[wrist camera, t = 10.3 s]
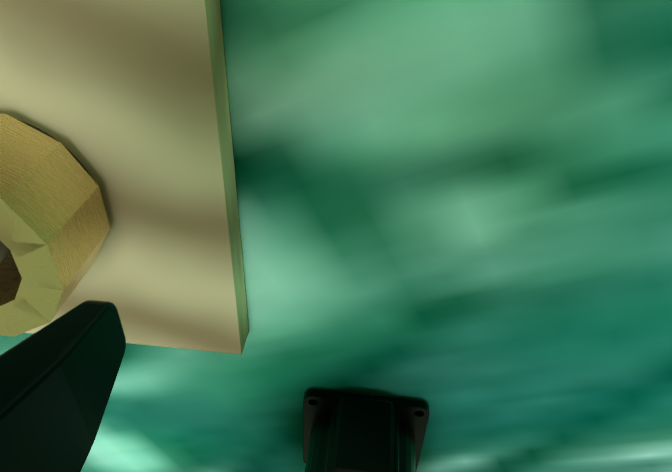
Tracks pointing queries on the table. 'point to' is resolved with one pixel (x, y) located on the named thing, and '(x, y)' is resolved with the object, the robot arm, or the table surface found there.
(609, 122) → the table surface
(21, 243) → the ring
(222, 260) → the stand
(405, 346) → the table surface
